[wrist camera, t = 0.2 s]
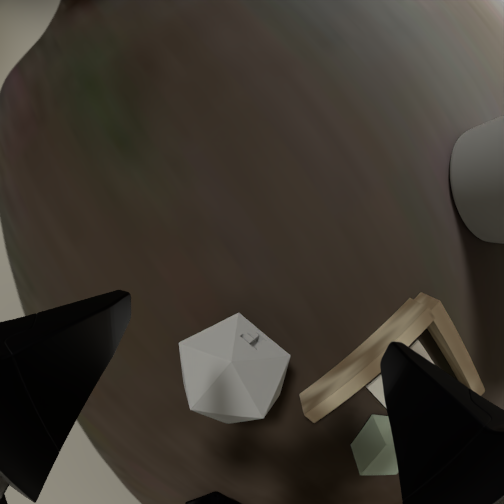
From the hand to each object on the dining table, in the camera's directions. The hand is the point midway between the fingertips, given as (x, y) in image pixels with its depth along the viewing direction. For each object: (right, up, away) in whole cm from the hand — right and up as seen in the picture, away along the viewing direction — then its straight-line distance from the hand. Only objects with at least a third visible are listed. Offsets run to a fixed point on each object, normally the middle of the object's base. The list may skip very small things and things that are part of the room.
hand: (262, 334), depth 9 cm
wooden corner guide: (+15, -11, +16) cm, 25 cm away
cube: (+14, -18, +17) cm, 28 cm away
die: (-2, -6, +16) cm, 18 cm away
